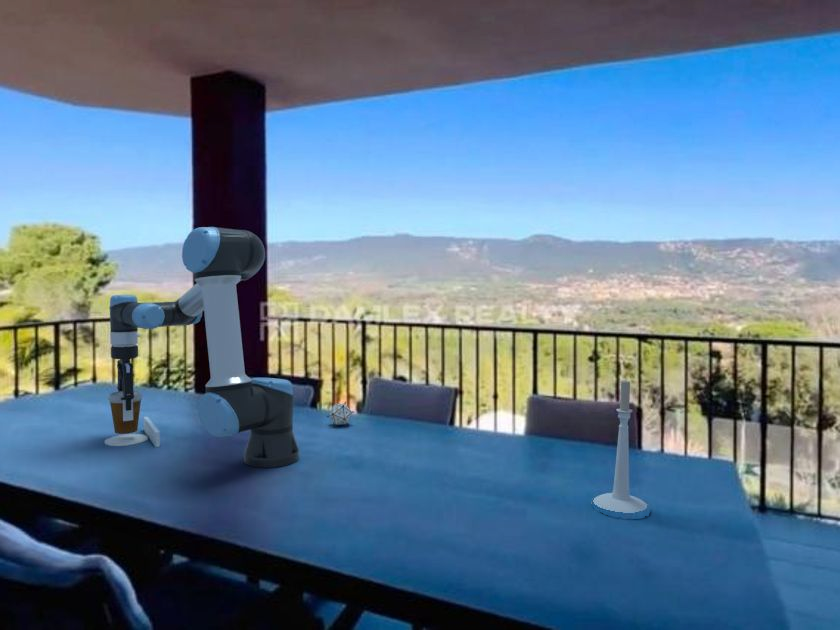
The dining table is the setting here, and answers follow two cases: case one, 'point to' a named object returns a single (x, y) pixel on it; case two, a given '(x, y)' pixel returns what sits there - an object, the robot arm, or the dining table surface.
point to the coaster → (126, 440)
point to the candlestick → (621, 465)
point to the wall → (152, 432)
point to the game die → (340, 414)
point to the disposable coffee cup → (117, 412)
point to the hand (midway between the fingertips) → (125, 416)
